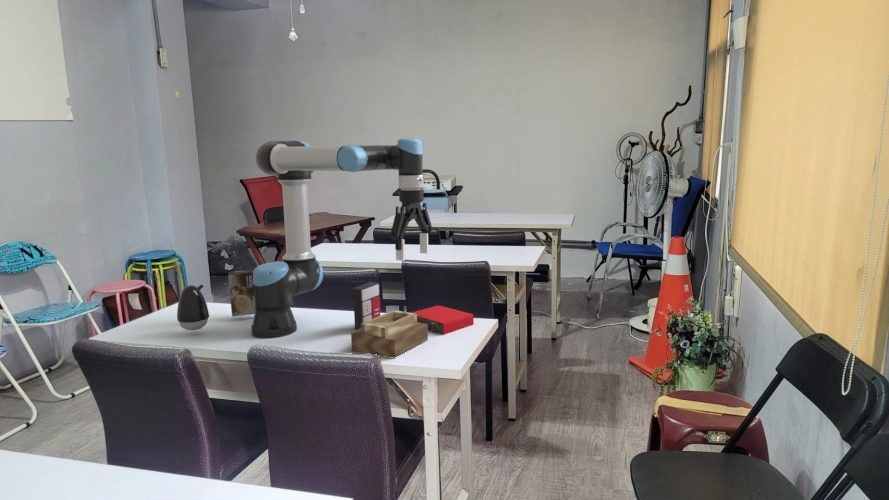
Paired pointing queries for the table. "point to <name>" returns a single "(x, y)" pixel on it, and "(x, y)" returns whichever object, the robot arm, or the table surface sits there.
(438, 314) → the red device housing
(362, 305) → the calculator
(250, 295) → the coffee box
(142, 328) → the table surface
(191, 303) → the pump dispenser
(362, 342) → the display riser
